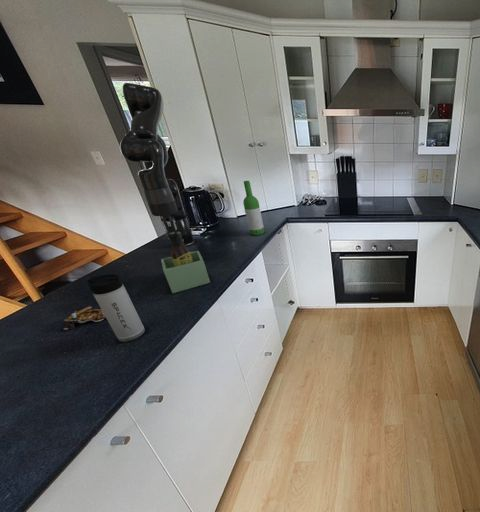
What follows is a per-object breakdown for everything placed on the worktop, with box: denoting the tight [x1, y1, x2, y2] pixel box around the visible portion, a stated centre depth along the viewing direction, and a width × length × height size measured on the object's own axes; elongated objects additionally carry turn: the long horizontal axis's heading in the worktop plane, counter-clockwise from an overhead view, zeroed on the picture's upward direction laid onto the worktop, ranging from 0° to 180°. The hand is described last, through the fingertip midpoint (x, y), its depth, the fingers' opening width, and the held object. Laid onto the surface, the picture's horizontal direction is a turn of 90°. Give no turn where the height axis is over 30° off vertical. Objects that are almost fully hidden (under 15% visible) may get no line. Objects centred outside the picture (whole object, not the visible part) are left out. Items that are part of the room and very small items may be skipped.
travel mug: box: [86, 273, 146, 343], centre depth 78 cm, size 6×7×20 cm
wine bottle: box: [242, 180, 265, 236], centre depth 151 cm, size 8×8×30 cm
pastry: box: [62, 306, 106, 331], centre depth 88 cm, size 7×12×4 cm, turn 125°
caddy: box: [160, 250, 211, 294], centre depth 108 cm, size 12×13×10 cm
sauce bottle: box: [167, 232, 193, 267], centre depth 105 cm, size 6×6×20 cm
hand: (176, 243), depth 102 cm, fingers open, 7 cm apart
